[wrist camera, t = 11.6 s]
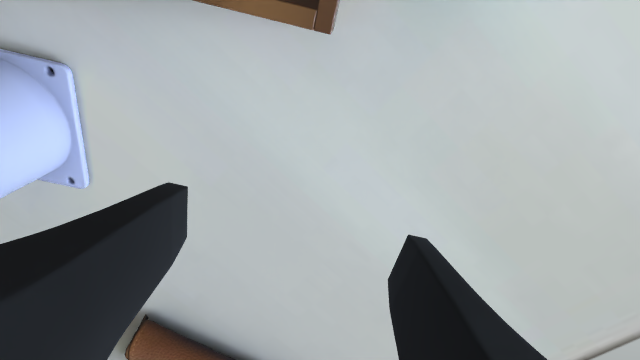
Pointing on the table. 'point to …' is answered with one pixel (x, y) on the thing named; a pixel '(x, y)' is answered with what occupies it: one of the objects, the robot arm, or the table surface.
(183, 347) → the sunglasses case
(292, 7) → the tray
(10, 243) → the robot arm
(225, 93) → the table surface
